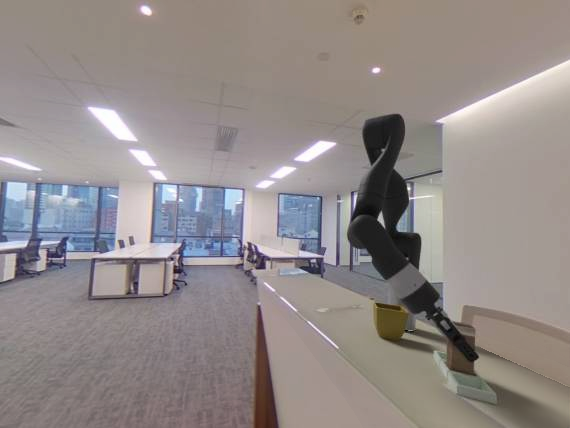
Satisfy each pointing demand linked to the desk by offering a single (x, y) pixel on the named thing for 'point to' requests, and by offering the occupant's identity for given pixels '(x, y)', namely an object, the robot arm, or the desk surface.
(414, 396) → the desk surface
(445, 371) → the tray
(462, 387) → the tray
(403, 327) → the flower pot
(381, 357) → the desk surface
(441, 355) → the tray
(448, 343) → the brown wooden block
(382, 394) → the desk surface
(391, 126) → the robot arm
